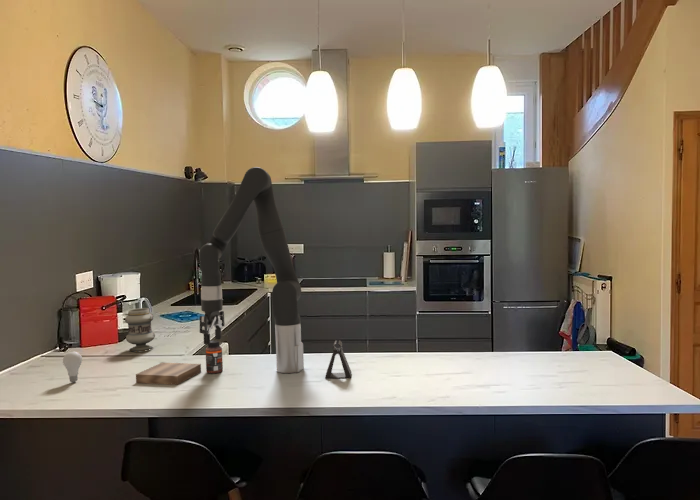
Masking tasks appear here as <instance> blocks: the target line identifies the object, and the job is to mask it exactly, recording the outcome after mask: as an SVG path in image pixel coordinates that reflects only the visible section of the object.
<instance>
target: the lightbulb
mask: <svg viewBox="0 0 700 500" xmlns="http://www.w3.org/2000/svg"><path fill="white" fill-rule="evenodd" d="M62 358H63V359H62V364H63V366H64V367H65V369H66V371H67V375H68V379H69V382H71V383H73V384H74V383H76V382H77V381H78V378H79V377H78V375H79V369H80V367H81V365H82V362H83V356H82V355H81V354H80V352H77V351H69V352H66V354H64V356H63V357H62Z"/></svg>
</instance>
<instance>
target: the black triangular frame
mask: <svg viewBox="0 0 700 500" xmlns="http://www.w3.org/2000/svg"><path fill="white" fill-rule="evenodd" d="M337 342H338V346H339V347H336V346H337ZM331 354H332V355H331V358H330V361H329V364H328V367H327V369H326V373H325V376H324V378H325V379H326V380H331V379H332V380H333V379H339V380H340V379H351V378H352V369H351V367H350V366H349V363H348V360H347V357H346V355H345V353H344V349H343V342H342V341H341V340H340V339H339V340H335V341H334V343H333V345H332V353H331ZM336 355H338V356H339V358H340V361H341V362H340V363H341V366H342V369H343V372H332V371H333V366H334V364H335V363H334V362H335V358H336Z"/></svg>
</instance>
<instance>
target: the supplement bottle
mask: <svg viewBox="0 0 700 500" xmlns="http://www.w3.org/2000/svg"><path fill="white" fill-rule="evenodd" d="M223 362H224V361H223V348H222V346H220V341H219V340H210V344H207V347H206V348H205V370H206V373H207V374H220V373H222V372H223V367H224V365H223Z"/></svg>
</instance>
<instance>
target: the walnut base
mask: <svg viewBox="0 0 700 500" xmlns="http://www.w3.org/2000/svg"><path fill="white" fill-rule="evenodd" d="M201 365H202V364H201V363H188V362H187V363H186V362H184V363H183V362H182V363H181V362H160V363H158V364H156V365H153V366H151V367H149V368H147V369H144V370H142V371H140V372H138V373H136V374H135V383H136V384H152V385H153V384H154V385H155V384H156V385H173V386H175V385H176V386H178V385H179V384H182V383H183V382H185V381H187V380H189V379H191V378H192V377H194V376H196V375H198V374H201V373H202V366H201Z"/></svg>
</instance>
